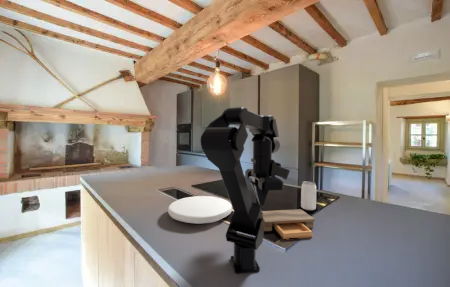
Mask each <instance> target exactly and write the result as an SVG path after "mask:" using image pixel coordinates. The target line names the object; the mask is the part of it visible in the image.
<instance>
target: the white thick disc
mask: <svg viewBox="0 0 450 287" xmlns="http://www.w3.org/2000/svg"><path fill="white" fill-rule="evenodd" d="M232 211H233V207H232V204H231V201H228V200H227V199H223V198H220V197H217V196H212V195H211V196H210V195H209V196H208V195H196V196H188V197H183V198H180V199H177V200H175V201H173V202H172V203H170V204H169V206H168V208H167V212H168V215H169V216H170V217H171V218H172V219H174V220H176V221H178V222H183V223H189V224H196V225H198V224H199V225H200V224H210V223H215V222H218V221H220V220H222V219H223V218H227V216H229V215H231V213H233V212H232Z"/></svg>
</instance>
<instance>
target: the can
mask: <svg viewBox="0 0 450 287" xmlns="http://www.w3.org/2000/svg"><path fill="white" fill-rule="evenodd" d="M300 194H301V195H300V207H301V208H302V210H305V211H315V210H316V208H317V185H316V182H314V181H310V180H309V181H305V180H304V181H302V184H301V190H300Z"/></svg>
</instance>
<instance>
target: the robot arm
mask: <svg viewBox="0 0 450 287" xmlns="http://www.w3.org/2000/svg"><path fill="white" fill-rule="evenodd" d="M235 126H236V127H235ZM237 127H238V128H237ZM247 129H248V131H249V132H250V133H251V135H252V136H253V137H252V139H251V142H252V158H250V159H251V160H250V162H252V168H247V169H246V170H245V172H244V170H243V167H242V163H241V157H242V155H243V153H244V150H245V147H244V146H245V143H246V141H247V139H248V137H249V134H248V131H247ZM279 137H280V136H279V131H278V125H277V119H276V118H274V116H273V115H272V114H270V115H267V114H266V115H260V114H257V113H255V112H253V111H251V110H248V108H247V107H246V108H245V107H243V106H239V107H237V106H236V107H228V108H227V109H224V110H223V112H222V113H221V115H220V116H218V117H216V118H215V119H214V120H212V121H211V122H210V123H209V124H208V125H207V127H206V128H205V130H204V131H203V132H202V134H201V136H200V141H199V142H200V145H201V150H202V151H203V154H204V155H205V157H206V159H207V160H208V161H209V162H210V163H212V164H213V165H214V166H215V167H216V168H217V169H218V171H219V173H220V176H221V179H222V181H223V185H224V187H225V190H226V193H227V197H228V198H229V202H230V203H231V205H232V211H233V212H232V215H231V217H230V222H229V224H228V228H227V230H226V233H225V240H226V241H227V242H230V243H233V255H231V256H230V257H229V258H230V263H231V265H232V267H233V271H234V273H235V274H243V273H251V272H259V271H260V270H261V268H260V265H259V263H258V262H257V260H256V253H257V252H256V251H257V250H258V249H259V247H260V246H261V245H262V243H263V242H264V233H265V231H264V227H265V220H264V219H263V216H262V215H263V213H262V211H263V210H262V207H264V205H265V202H266V200H267V196H268V194H269V191H282V190H283V191H284V186H285V185H284V184H285V183H284V181H283V180H281V179H280V178H282V179H284V180H288V177H289V175H290V172H291V170H290V169H287V168H284V167H283V166H282V164H281V162H276V161H275V160H274V159H272V157H273V156H272V155H273V154H275V153H277V152H278V151H279V150H280V148H281V145H280V144H281V143H280V141H279V139H277V138H279ZM250 177H251V178H252V180H249V183H250V185H251V187H252V190H253V192H254V195H255V197H256V199H257V203H256V202H252V199H251V194H250V192H249V188H248V184H247V182H246V179H249V178H250ZM278 177H280V178H278Z"/></svg>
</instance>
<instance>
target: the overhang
mask: <svg viewBox="0 0 450 287" xmlns="http://www.w3.org/2000/svg"><path fill="white" fill-rule="evenodd" d="M261 211H262V213H263V215H262V216H263V219H264V220H265V227H264V232H272V231H273V227H272V224H278V223H293V222H301V223H302V224H304V225H305V226H306V227H307V228H309V229H313V228H314V222H315V220H316V219H315V218H314V217H313V216H311V215H310V214H308V213H307V212H306V211H304V209H301V208H298V209H296V208H295V209H280V210H279V209H277V210H261Z"/></svg>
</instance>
